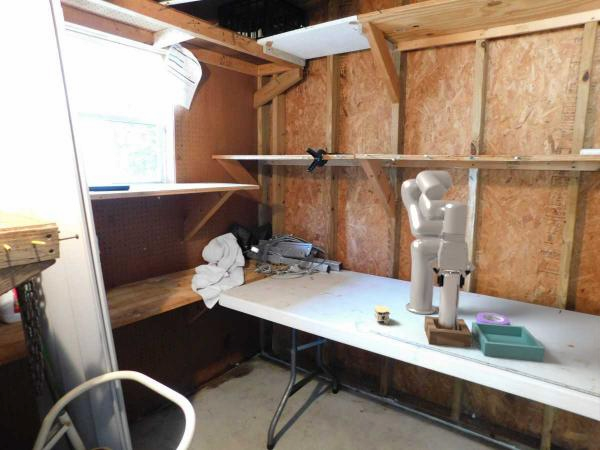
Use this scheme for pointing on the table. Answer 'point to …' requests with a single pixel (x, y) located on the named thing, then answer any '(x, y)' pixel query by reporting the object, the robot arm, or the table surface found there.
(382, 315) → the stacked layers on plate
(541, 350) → the tray
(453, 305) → the silver tall rounded column
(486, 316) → the masking tape
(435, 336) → the socket block
